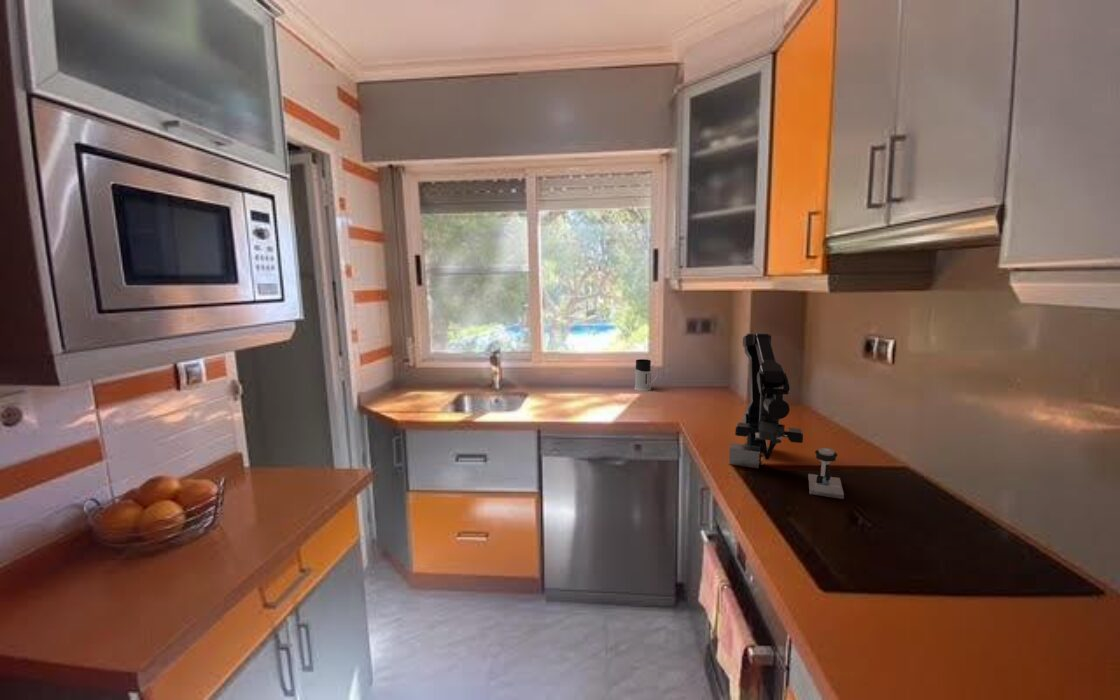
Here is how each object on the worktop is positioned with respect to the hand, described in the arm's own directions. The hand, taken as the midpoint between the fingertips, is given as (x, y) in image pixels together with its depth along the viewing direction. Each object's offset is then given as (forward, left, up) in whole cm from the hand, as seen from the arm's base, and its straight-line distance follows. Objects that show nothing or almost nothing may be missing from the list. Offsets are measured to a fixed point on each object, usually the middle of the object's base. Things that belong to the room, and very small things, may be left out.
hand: (767, 459), depth 154 cm
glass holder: (-88, -61, -2) cm, 107 cm away
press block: (0, -7, -2) cm, 7 cm away
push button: (+11, +15, -1) cm, 19 cm away
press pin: (0, -6, -2) cm, 6 cm away
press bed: (+11, +15, -2) cm, 19 cm away
